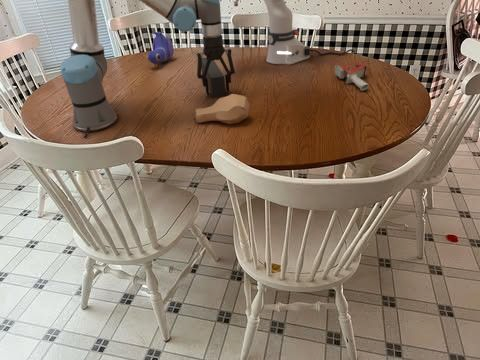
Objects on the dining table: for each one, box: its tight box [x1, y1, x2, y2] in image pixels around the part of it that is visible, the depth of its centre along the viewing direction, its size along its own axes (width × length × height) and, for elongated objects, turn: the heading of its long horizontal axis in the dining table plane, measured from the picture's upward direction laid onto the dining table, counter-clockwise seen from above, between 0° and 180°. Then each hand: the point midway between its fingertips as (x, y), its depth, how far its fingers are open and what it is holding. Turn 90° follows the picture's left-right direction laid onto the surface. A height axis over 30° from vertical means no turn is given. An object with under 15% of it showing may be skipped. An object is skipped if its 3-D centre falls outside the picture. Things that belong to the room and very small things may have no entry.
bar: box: [201, 56, 227, 99], centre depth 155 cm, size 28×5×8 cm, turn 14°
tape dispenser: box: [334, 61, 370, 92], centre depth 151 cm, size 18×5×20 cm
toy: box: [146, 31, 175, 69], centre depth 182 cm, size 10×17×25 cm
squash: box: [195, 93, 251, 125], centre depth 127 cm, size 11×20×9 cm, turn 92°
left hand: (217, 91), depth 149 cm, fingers open, 8 cm apart
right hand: (225, 7), depth 153 cm, fingers open, 8 cm apart
